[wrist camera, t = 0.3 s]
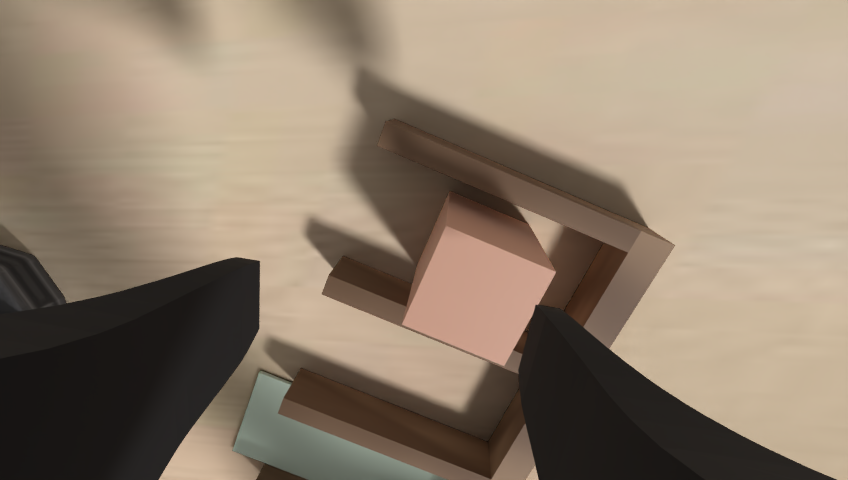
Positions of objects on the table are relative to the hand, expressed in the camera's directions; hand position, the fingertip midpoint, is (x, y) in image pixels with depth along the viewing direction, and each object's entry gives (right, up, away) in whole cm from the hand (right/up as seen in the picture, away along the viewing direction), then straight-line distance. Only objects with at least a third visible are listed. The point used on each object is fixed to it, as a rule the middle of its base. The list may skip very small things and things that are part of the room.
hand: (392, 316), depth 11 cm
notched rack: (0, -4, +12) cm, 12 cm away
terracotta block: (+3, +2, +10) cm, 10 cm away
